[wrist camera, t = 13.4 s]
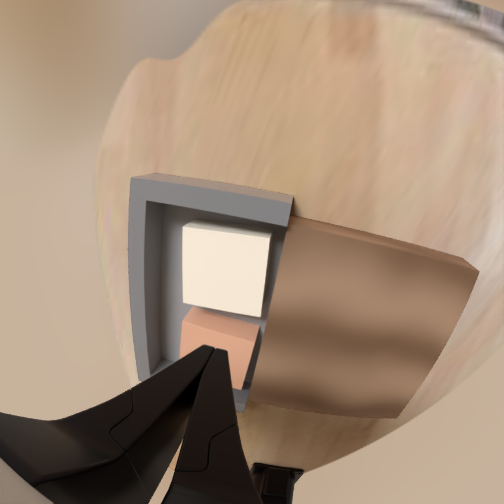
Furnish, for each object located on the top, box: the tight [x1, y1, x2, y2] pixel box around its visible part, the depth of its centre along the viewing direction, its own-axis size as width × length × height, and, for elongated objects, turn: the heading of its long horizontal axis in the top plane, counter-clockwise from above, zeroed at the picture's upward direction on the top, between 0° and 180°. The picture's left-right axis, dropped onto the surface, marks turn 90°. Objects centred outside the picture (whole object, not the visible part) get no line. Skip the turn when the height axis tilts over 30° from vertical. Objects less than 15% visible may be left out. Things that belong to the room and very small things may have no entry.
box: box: [128, 173, 293, 413], centre depth 18 cm, size 16×9×3 cm, turn 171°
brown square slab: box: [248, 215, 479, 418], centre depth 18 cm, size 14×13×2 cm
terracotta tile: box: [179, 306, 260, 390], centre depth 19 cm, size 5×5×2 cm
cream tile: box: [182, 219, 274, 317], centre depth 17 cm, size 5×5×2 cm
